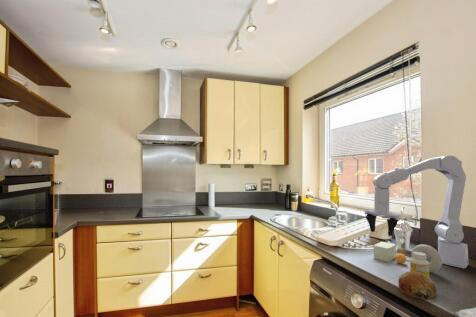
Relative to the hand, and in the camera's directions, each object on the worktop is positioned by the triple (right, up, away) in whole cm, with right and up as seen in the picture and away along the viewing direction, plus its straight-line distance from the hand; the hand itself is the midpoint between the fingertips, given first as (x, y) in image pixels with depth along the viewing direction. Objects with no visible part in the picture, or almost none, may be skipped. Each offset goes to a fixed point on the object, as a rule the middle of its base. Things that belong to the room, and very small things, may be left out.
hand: (381, 233), depth 114 cm
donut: (+9, -10, -15) cm, 20 cm away
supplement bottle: (0, -10, -24) cm, 26 cm away
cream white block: (+1, -10, 0) cm, 10 cm away
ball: (+4, -8, -7) cm, 12 cm away
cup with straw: (+16, -11, +10) cm, 21 cm away
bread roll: (-7, -10, -32) cm, 34 cm away
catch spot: (+10, -10, -2) cm, 15 cm away
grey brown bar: (+14, -11, +2) cm, 18 cm away
